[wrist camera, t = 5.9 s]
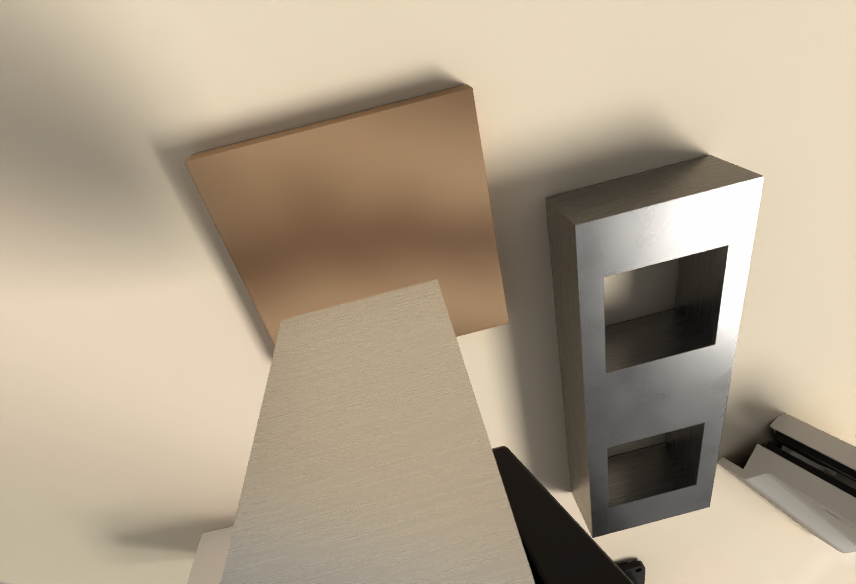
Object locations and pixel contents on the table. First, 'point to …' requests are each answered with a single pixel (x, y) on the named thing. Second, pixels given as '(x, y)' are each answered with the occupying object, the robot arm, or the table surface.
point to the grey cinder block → (650, 334)
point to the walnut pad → (361, 210)
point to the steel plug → (373, 457)
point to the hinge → (806, 480)
